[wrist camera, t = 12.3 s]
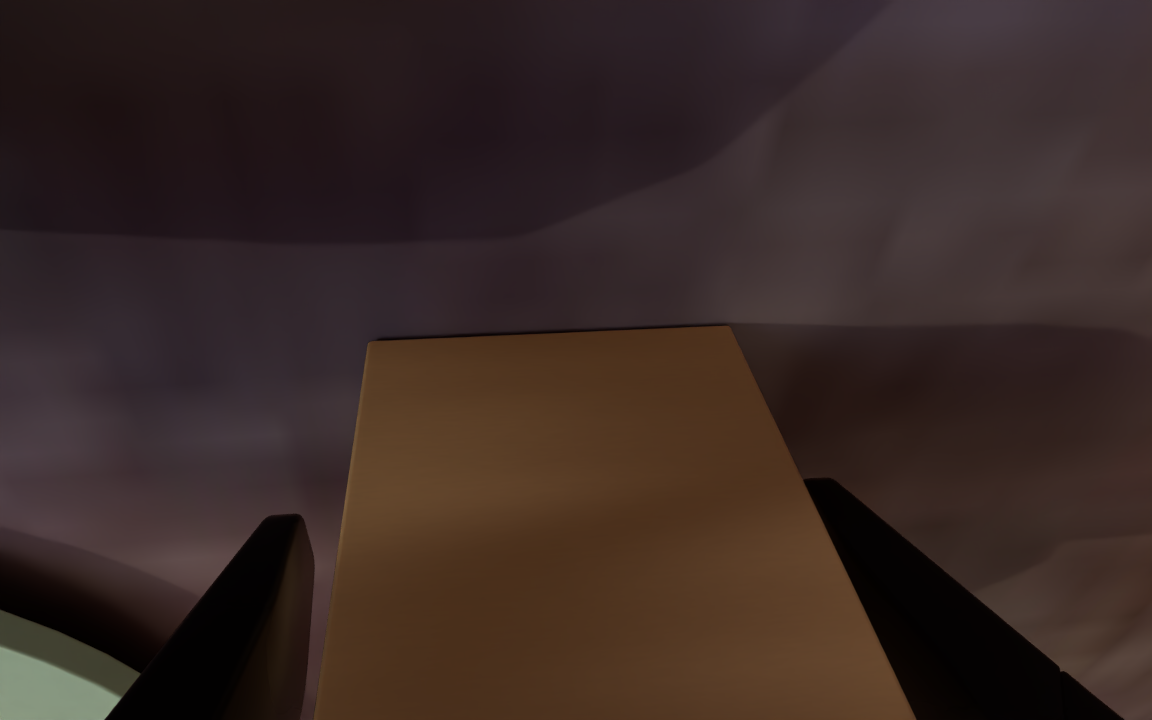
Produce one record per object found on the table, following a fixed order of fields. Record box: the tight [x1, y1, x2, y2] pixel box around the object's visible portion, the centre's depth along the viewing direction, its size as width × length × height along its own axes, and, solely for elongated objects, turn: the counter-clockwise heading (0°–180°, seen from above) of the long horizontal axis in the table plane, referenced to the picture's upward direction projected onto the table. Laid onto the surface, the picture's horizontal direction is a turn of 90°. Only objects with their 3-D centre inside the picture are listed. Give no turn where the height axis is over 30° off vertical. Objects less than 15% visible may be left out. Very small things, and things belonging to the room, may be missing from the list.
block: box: [313, 326, 916, 720], centre depth 9 cm, size 4×4×6 cm
